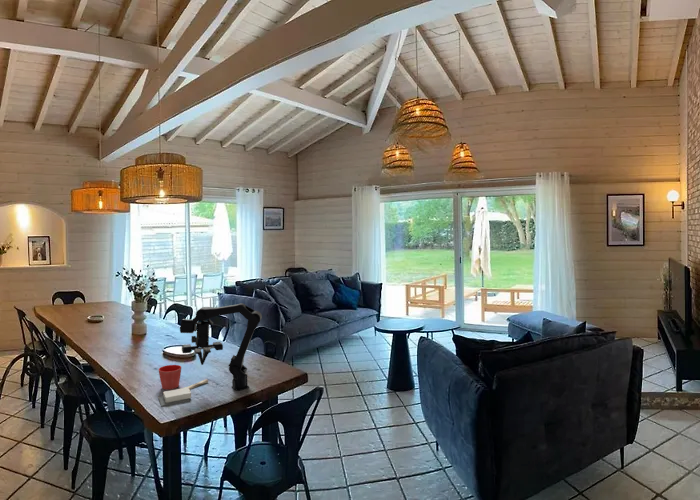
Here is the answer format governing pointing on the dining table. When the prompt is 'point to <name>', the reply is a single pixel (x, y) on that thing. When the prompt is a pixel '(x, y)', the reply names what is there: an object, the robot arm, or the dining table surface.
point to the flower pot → (170, 376)
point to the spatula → (197, 384)
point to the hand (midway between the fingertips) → (202, 364)
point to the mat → (163, 403)
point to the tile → (177, 395)
